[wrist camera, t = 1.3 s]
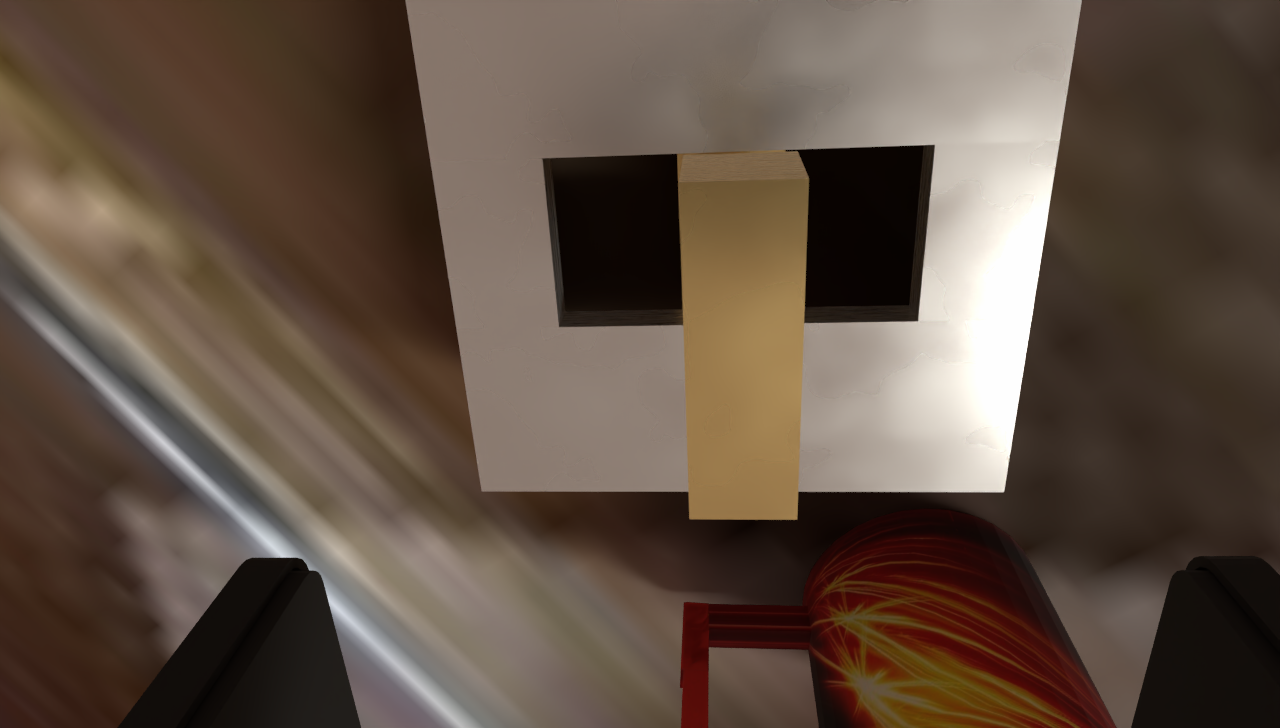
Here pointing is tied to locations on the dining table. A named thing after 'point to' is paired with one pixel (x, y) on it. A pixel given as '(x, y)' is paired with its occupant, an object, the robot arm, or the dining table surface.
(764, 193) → the tall wooden post
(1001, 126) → the white slotted holder
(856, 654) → the mug
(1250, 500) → the dining table surface
